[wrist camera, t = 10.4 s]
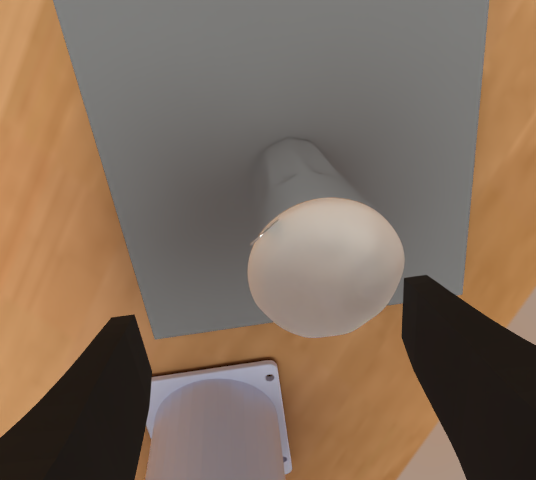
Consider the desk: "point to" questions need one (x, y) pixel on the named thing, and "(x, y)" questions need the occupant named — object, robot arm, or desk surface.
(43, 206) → the desk surface
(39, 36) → the desk surface
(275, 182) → the milkshake
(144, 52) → the mat
